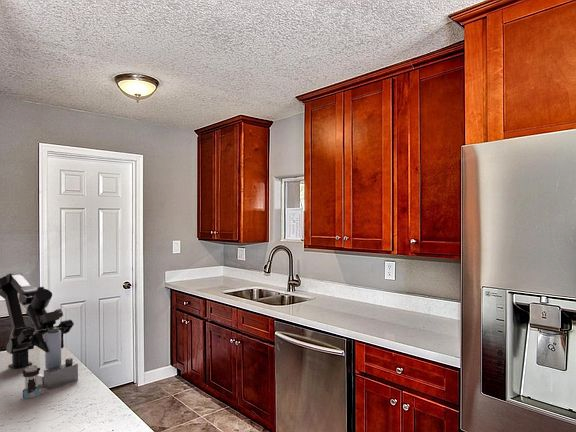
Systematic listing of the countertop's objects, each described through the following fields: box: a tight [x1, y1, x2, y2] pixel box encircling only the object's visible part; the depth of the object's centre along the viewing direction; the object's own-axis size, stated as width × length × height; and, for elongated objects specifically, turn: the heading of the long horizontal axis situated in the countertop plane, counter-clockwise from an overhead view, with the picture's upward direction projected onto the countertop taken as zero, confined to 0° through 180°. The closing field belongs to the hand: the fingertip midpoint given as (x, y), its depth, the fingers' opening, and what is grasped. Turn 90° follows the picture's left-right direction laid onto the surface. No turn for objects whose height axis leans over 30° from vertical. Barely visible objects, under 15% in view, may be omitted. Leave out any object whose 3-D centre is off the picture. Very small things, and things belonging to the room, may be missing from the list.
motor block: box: [37, 357, 79, 390], centre depth 156 cm, size 9×10×8 cm
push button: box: [21, 364, 46, 400], centre depth 144 cm, size 7×5×10 cm
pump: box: [44, 327, 62, 370], centre depth 158 cm, size 5×5×14 cm
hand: (55, 349), depth 157 cm, fingers closed on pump, 5 cm apart
